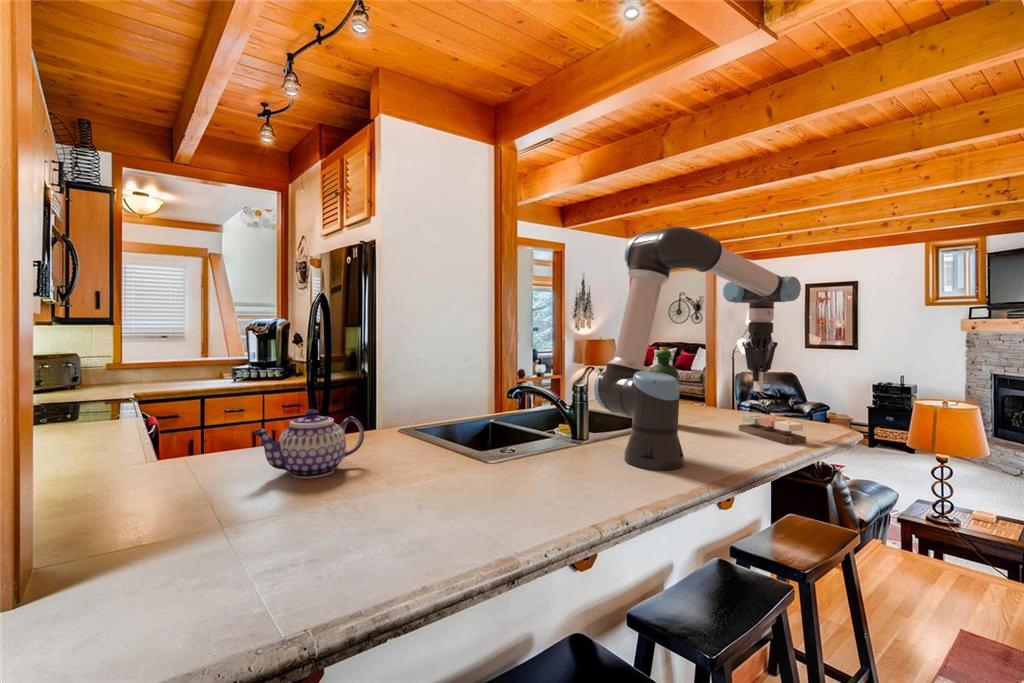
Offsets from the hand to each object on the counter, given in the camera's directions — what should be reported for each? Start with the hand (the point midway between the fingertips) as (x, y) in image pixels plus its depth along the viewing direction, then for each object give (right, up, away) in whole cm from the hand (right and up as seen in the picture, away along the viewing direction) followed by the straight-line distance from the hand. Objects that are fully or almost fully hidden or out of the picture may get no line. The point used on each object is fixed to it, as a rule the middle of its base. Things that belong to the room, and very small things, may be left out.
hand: (758, 390), depth 170 cm
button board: (+2, -15, -5) cm, 15 cm away
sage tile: (0, -13, +1) cm, 13 cm away
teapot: (-131, -14, -51) cm, 141 cm away
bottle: (-29, -13, +11) cm, 34 cm away
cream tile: (+4, -13, -12) cm, 18 cm away
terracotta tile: (+2, -13, -5) cm, 14 cm away
